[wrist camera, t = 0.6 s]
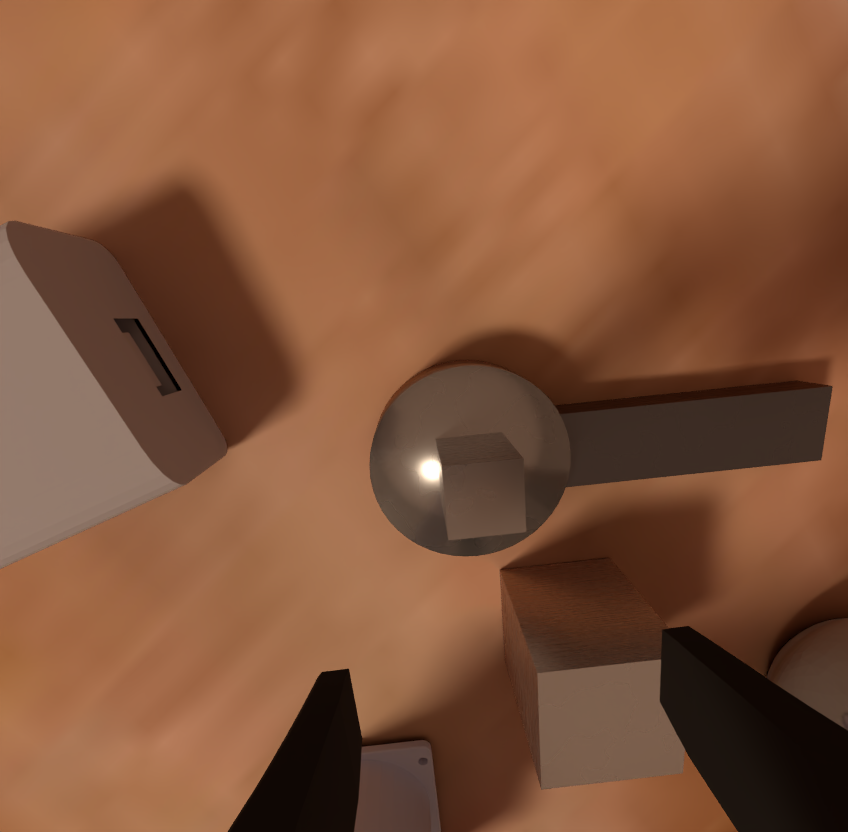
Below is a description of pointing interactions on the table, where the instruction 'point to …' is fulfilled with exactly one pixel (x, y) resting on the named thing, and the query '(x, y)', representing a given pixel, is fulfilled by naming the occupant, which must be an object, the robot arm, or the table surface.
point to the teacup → (817, 669)
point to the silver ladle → (561, 447)
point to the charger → (84, 395)
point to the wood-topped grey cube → (587, 674)
